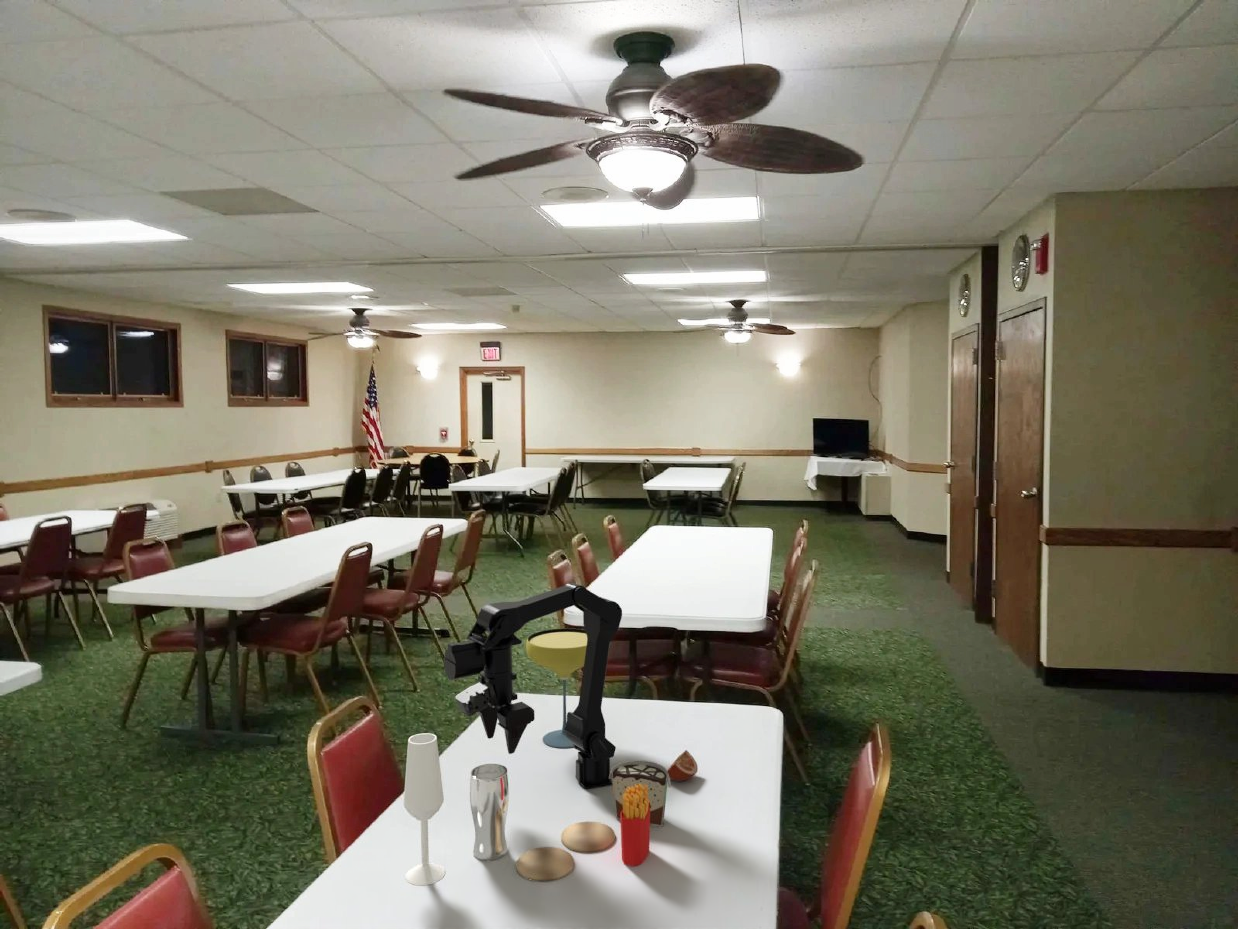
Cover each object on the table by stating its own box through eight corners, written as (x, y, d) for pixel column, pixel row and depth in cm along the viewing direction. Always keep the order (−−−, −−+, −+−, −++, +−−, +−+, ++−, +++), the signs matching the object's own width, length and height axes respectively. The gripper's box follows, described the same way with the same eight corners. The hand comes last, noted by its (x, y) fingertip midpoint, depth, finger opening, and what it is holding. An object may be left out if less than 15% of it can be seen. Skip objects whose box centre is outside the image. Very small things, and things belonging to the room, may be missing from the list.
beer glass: (502, 864, 146) (500, 781, 145) (465, 860, 147) (463, 778, 146) (514, 844, 153) (513, 764, 152) (479, 840, 154) (477, 761, 153)
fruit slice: (673, 768, 185) (673, 746, 184) (702, 773, 182) (702, 751, 182) (660, 784, 177) (660, 761, 177) (690, 789, 174) (690, 766, 174)
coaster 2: (603, 820, 161) (603, 817, 161) (622, 845, 152) (622, 842, 152) (554, 830, 158) (554, 827, 158) (570, 856, 148) (570, 853, 148)
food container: (678, 813, 164) (678, 764, 163) (669, 828, 158) (669, 777, 158) (619, 804, 168) (618, 756, 167) (609, 818, 162) (608, 768, 162)
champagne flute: (408, 889, 139) (405, 749, 137) (402, 869, 145) (399, 734, 143) (449, 879, 141) (446, 742, 140) (441, 860, 147) (438, 728, 146)
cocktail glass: (560, 719, 214) (559, 624, 212) (616, 735, 203) (616, 635, 202) (511, 743, 199) (510, 640, 197) (570, 761, 189) (569, 653, 187)
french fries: (637, 870, 144) (637, 803, 143) (616, 865, 145) (616, 799, 145) (654, 846, 152) (654, 782, 151) (634, 842, 153) (634, 779, 152)
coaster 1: (564, 846, 152) (563, 842, 152) (581, 874, 143) (581, 871, 143) (510, 856, 148) (510, 853, 148) (524, 886, 139) (524, 883, 139)
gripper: (440, 665, 167) (443, 740, 168) (481, 691, 152) (484, 773, 153) (491, 654, 173) (493, 727, 174) (534, 678, 158) (537, 757, 159)
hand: (500, 745), depth 165 cm, fingers open, 9 cm apart
